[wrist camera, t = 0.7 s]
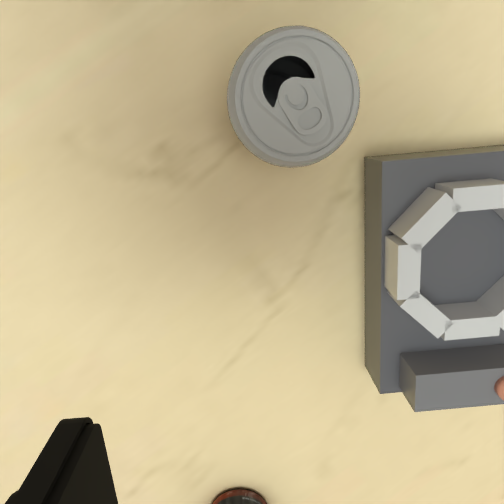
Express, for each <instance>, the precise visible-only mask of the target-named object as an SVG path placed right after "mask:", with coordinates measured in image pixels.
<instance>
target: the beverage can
mask: <svg viewBox="0 0 504 504" xmlns="http://www.w3.org/2000/svg"><path fill="white" fill-rule="evenodd" d="M359 102H360V87H359V80H358V76H357V72H356V69H355V67H354V64H353V62H352V60H351V58H350V57H349V55H348V54H347V52H346V51H345V50H344V48H343V47H342V46H341V45H340V44H339V43H338V42H337V41H336V40H335V39H333V38H332V37H330V36H329V35H327V34H326V33H324V32H322V31H319V30H317V29H314V28H311V27H306V26H287V27H280V28H277V29H274V30H271V31H269V32H267V33H265V34H263V35H261V36H260V37H258V38H257V39H256V40H254V41H253V42H252V43H251V44H250V45H249V46H248V47H247V48H246V49H245V50H244V52H243V53H242V54H241V55H240V57H239V58H238V60H237V62H236V64H235V66H234V68H233V71H232V73H231V76H230V80H229V84H228V91H227V106H228V113H229V117H230V121H231V124H232V126H233V129H234V131H235V133H236V134H237V136H238V138H239V139H240V141H241V142H242V143H243V145H244V146H245V147H246V148H247V149H248V150H249V151H250V152H251V153H253V154H254V155H255V156H257V157H258V158H260V159H262V160H263V161H265V162H268V163H270V164H273V165H277V166H281V167H302V166H307V165H311V164H314V163H316V162H319V161H321V160H322V159H324V158H326V157H327V156H329V155H330V154H332V153H333V152H334V151H335V150H336V149H337V148H338V147H339V146H340V145H341V144H342V143H343V142H344V140H345V139H346V138H347V136H348V135H349V133H350V131H351V129H352V127H353V125H354V123H355V120H356V117H357V113H358V109H359Z"/></svg>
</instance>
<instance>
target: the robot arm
mask: <svg viewBox="0 0 504 504" xmlns="http://www.w3.org/2000/svg"><path fill="white" fill-rule="evenodd" d="M5 504H118V501H117V497H116V492H115V488H114V483H113V479H112V474H111V470H110V465H109V461H108V456H107V452H106V447H105V443H104V438H103V434H102V429H101V426H100V425H99V424H93V421H92V419H91V418H89V417H85V418H72V419H63V420H61V421H60V422H59V423H58V425H57V426H56V428H55V430H54V432H53V433H52V435H51V437H50V438H49V440H48V442H47V443H46V445H45V447H44V448H43V450H42V452H41V453H40V455H39V457H38V458H37V460H36V462H35V464H34V465H33V467H32V469H31V470H30V472H29V474H28V475H27V477H26V479H25V480H24V482H23V484H22V485H21V487H20V489H19V490H18V491H16V492H15V493H13V494H12V495H11V496H10V497H9V499H8V500H7V501H6V503H5Z"/></svg>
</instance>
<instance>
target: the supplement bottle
mask: <svg viewBox="0 0 504 504" xmlns="http://www.w3.org/2000/svg"><path fill="white" fill-rule="evenodd" d="M212 504H266V502H265V501H264V499H263V498H262V497H261V496H259V495H258V494H256V493H255V492H252V491H249V490H243V489H238V490H231V491H228V492H225V493H223V494H222V495H220V496H219V497H218V498H217V499H216V500H215V501H214V502H213V503H212Z"/></svg>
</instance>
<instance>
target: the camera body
mask: <svg viewBox="0 0 504 504" xmlns="http://www.w3.org/2000/svg"><path fill="white" fill-rule="evenodd" d="M365 366H366V368H367V370H368V372H369V374H370V376H371V378H372V380H373V382H374V383H375V385H376V387H377V389H378V391H379V393H380V394H384V393H395V392H403V394H404V396H405V397H406V399H407V400H408V402H409V404H410V405H411V407H412V409H413V410H414V412H420V411H431V410H442V409H453V408H464V407H476V406H487V405H498V404H504V145H499V146H487V147H476V148H464V149H453V150H441V151H430V152H418V153H407V154H395V155H384V156H372V157H365Z"/></svg>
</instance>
